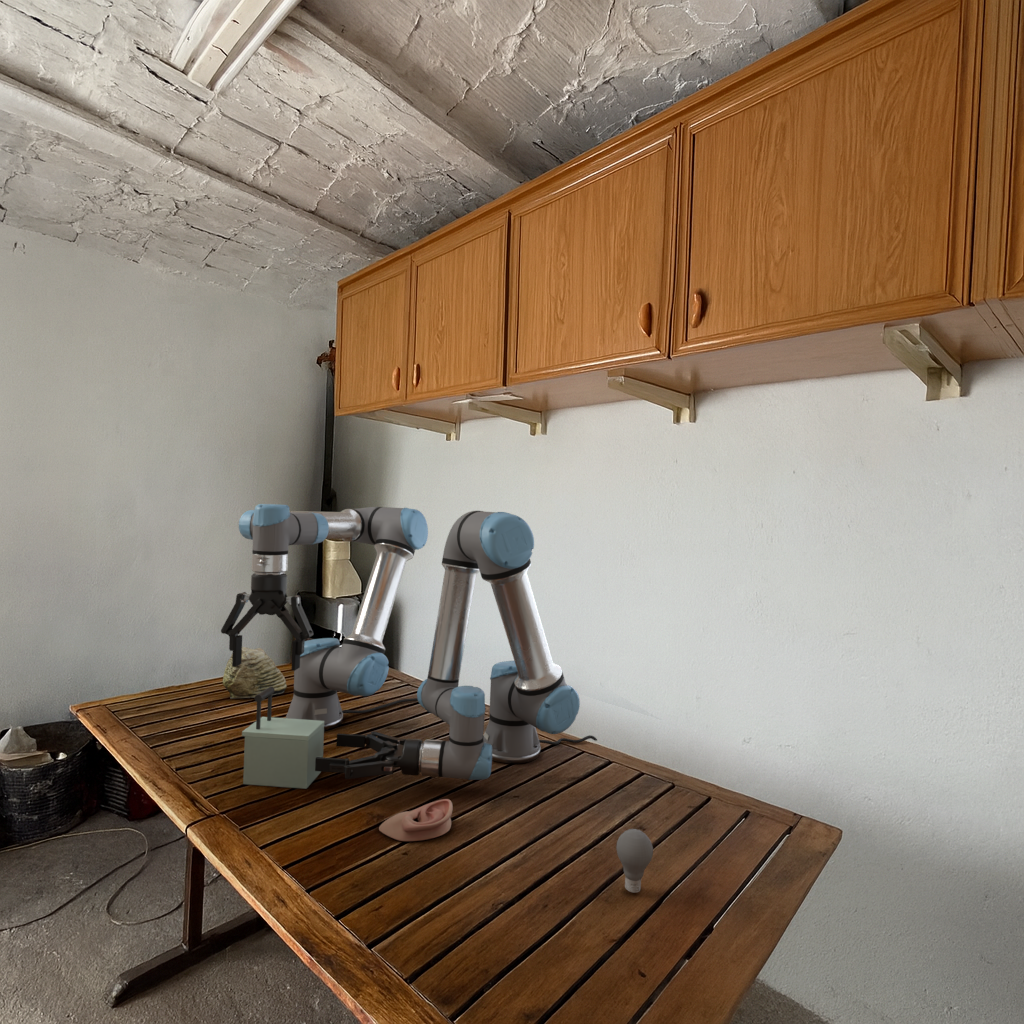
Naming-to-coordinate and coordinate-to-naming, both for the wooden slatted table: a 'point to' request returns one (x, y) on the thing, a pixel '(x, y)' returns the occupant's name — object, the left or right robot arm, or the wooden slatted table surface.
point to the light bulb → (634, 857)
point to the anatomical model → (420, 822)
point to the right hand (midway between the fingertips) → (326, 751)
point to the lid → (280, 723)
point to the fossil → (253, 675)
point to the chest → (282, 761)
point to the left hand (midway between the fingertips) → (266, 667)
